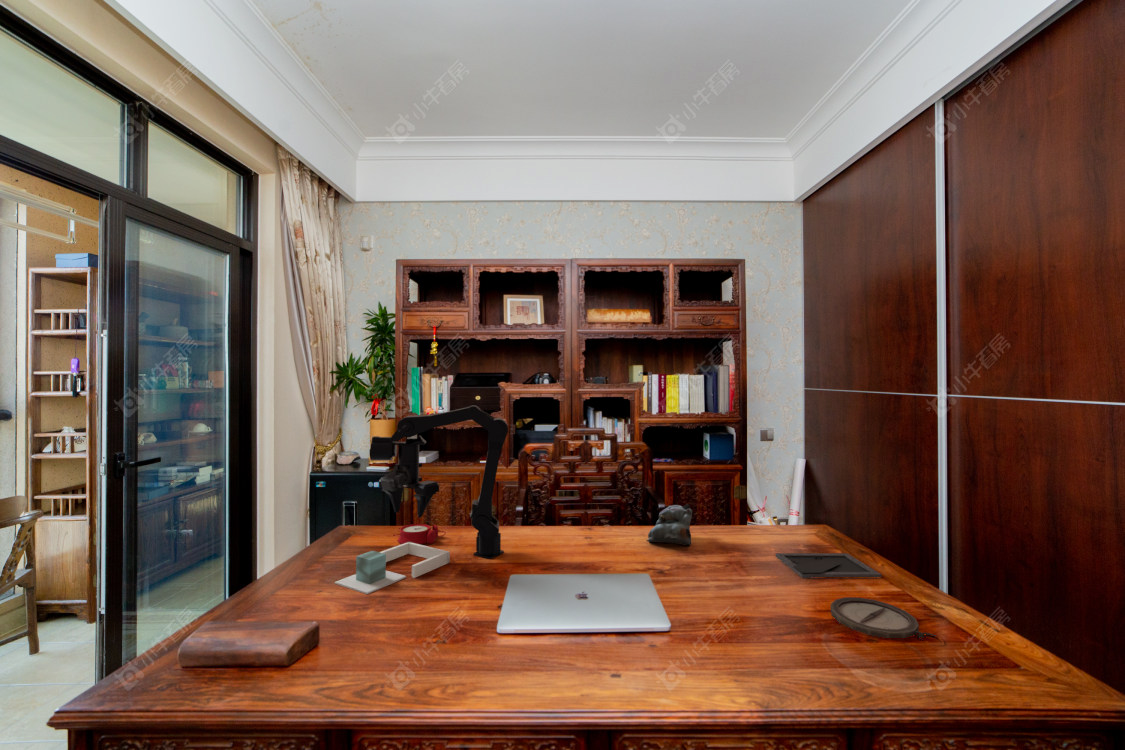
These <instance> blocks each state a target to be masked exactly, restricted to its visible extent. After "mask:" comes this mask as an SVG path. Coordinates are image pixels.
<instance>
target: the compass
mask: <svg viewBox="0 0 1125 750" xmlns="http://www.w3.org/2000/svg"><path fill="white" fill-rule="evenodd" d="M830 614H832V615H831V617H832V616H833V617H834V618H835V619H836V620H837V621H838V622H839V623H838V622H837V621H836V620H835V619H834V618H833V617H832V618H833V619H834V620H835V621H836V622H837V623H838V624H840V623H841V624H840V625H842V624H843V625H845V626H847V627H849V628H851V629H853V630H852V631H854V630H856V631H855V632H857V631H859V632H858V633H860V632H862V633H861V634H863V633H865V634H864V635H866V634H868V635H867V636H869V635H872V636H871V637H874V636H878V637H877V638H880V637H884V638H883V639H885V638H906V637H910V636H913V635H916V636H917V638H918V637H919V638H920V639H921V637H922V638H924V637H925V635H924V634H926V635H933V636H937V637H939V636H938V635H936V634H933V633H929V632H922V631H918V630H919V628H920V627H919V622H918V621H917V619H916V617H914V616H913V615H912V614H910V613H909V612H907V611H906V610H905V609H902V608H899V607H897V606H895V605H893V604H891V603H887V602H884V601H880V600H877V599H869V598H864V597H849V596H848V597H842V598H838V599H835V600H834V601H832V602H831V603H830ZM843 625H842V626H843ZM845 626H844V627H845ZM847 627H846V628H847ZM849 628H848V629H849ZM851 629H850V630H851ZM923 635H924V636H923ZM924 639H925V638H924Z"/></svg>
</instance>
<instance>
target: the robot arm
mask: <svg viewBox="0 0 1125 750" xmlns="http://www.w3.org/2000/svg"><path fill="white" fill-rule="evenodd" d="M467 421H473V422H474V423H476V424H477V425H478V426H480V427H482V428H483V429H484V430H486V431H487V454H486V459H485V465H484V471H483V476H482V481H481V486H480V493H479V496H478V499H473V500H472V504H471V511H470V514H469V519H470V520H471V525H472V527H473V528H474V529H475V530H476V531H477V532H476V539H475V540H476V541H475V542H476V543H475V544H476V545H475V550H476V551H475V552H473V556H477V557H481V558H485V559H493V558H495V557H498V556H499V555H502V554H504V553H505V551H504V550H502V549H501V547H502V546H501V545H502V544H501V543H502V541H501V538H502V537H501V535H502V533H501V532H500V521H499V520H498V519H497V518H495V516H494V515H493V495H494V490H495V483H496V478H497V472H498V467H499V466H498V465H499V461H500V455H501V451H502V449H503V446H504V444H505V441H506V438H507V436H508V434H509V433H508V432H509V426H508V423H507V421H506V420H505V419H503V418H501V417H494V416H493V415H491V414H490V413H488V412H485V411H484V410H483V409H481V408H480V407H479V406H477V405H475V404H474V405H469V406H466V407H463V408H458V409H454V410H449V411H445V412H440V413H434V414H430V415H429V414H426V415H425V414H424V415H423V414H419V415H418V414H417V415H416V414H415V415H414V414H413V415H407V416H405V417H403V418H401V419H400V420H399V421H398V423H397V425H396V428H397V429H396V431H395V432H394V433H393V434H391V436H379V435H378V436H377V435H376V436H372V438H371V443H370V449H369V460H370V461H372V462H373V461H375V462H376V461H377V462H380V461H383V462H384V461H385V462H386V461H387V462H388V461H393V459H394V458H395V457H397V458H398V460H397V461H398V462H397V463H396V464H394V466H393V471H391V472H389V473H387V474H385V475H384V476H382V477H380V479H379V480H378V488H380V489H381V491H382V492H384V493H386V494H387V495H388V497H389V499H390V501H391V504H392V508H393V510H394V512H395V514H397V513H400V509H401V505H402V500H403V494H404V488H406V489H411V490H413V491H414V493H415V494H413V497H414V498H415V499H416V506H417V508H416V509H417V511H416V512H417V517H418V518H422V517H423V515H424V513H425V511H426V509H427V506H428V504H429V503H430V501H431V500H432V497H433V496H434V495H436V494H437V493H438V492H440V484H439V483H438V482H437V481H434V480H424V481H423V477H422V476H420V468H422V467H423V463H422V462H420V446H425V445H426V443H427V441H426V440H425V439H424V438H423V437H422V435H419V434H422V433H424V432H426V431H429V430H431V429H434V428H439V427H443V426H448V425H452V424H453V425H454V424H458V423H462V422H467ZM417 435H419V436H418V437H417V438H411V437H414V436H417ZM404 438H406V440H405V441H401V440H402V439H404Z"/></svg>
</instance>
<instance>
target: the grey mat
mask: <svg viewBox="0 0 1125 750" xmlns="http://www.w3.org/2000/svg"><path fill="white" fill-rule="evenodd" d="M406 578H407V576H406V575H404V574H400V573H396V572H393V571H389V570H387V569H386V578H384V579H381V580H379V581H377V582H374V583H372V584H367V583H363V582H360V581H357V580H356V573H355V574H352V575H349V576H347V577H344V578H342V579H340V580H337V581H335V582H334V585H338V586H341V587H344V588H347V589H350V590H352V591H355V592H359V593H362V594H365V595H369V594H371V593H373V592H375V591H378V590H381V589H383V588H385V587H387V586H390V585H392V584H395V583H397V582H399V581H402V580H403V579H404V580H405V579H406Z"/></svg>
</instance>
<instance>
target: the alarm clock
mask: <svg viewBox="0 0 1125 750" xmlns="http://www.w3.org/2000/svg"><path fill="white" fill-rule="evenodd" d="M398 530H399V532H400V533H397V534H392V535H393V537H394V536H398V539H397V542H398V544H399V545H401V544H404V543H407V542H411V543H415V544H420V545H424V544H428V545H432V544H434V543H435V542H436V540H437V538H439V537H444V536H445V535H447V533H446V531H444V530H440V529H439V527H438V526H437V525H436V524H432V527H431V526H430V525H428V524H424V523H412V524H407V525H406V524H405V525H404V526H402V527H398ZM439 533H444V534H442V535H439Z"/></svg>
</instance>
